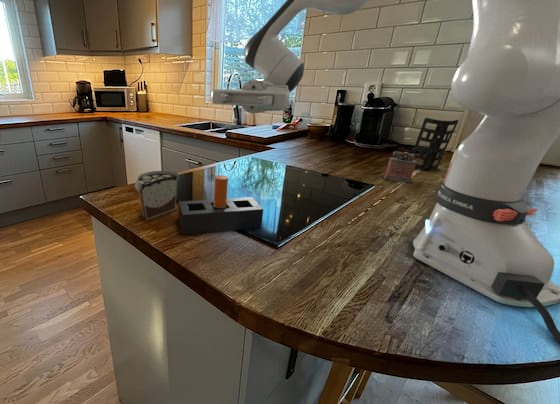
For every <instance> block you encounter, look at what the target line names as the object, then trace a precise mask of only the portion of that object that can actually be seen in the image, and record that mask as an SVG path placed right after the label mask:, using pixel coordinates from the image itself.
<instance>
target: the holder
mask: <svg viewBox="0 0 560 404" xmlns="http://www.w3.org/2000/svg"><path fill="white" fill-rule="evenodd" d="M458 123H459V119H454V120H441V119H434V118H430V117H425V118H424V119H423V122H422V125H421V127H420V130H419V133H418V136H417V137H416V138H417V139H416V141H415V144H414V147H413V149H412V152H411V154H414V158H413V159H419V160H422V162H421V163H420V162H417V163H416V164H415V167H414V168H416V169H421V171H428V172H429V171H431V170H436V169H439V165H440V163H441V161H442V159H443V156H444V154H445V151H446V149H447V147H448V145H449V144H450V140H452V139H451V138H452V136H453V134H454V132H455V130H456V127H457V125H458ZM427 124H432V125H435V128H434V129H431V128H426V127H427ZM449 126H453V127H452V129H451V130H448V128H449ZM424 133H426V135H425V137H423V134H424ZM431 134H432V136H431ZM430 137H431V138H430ZM421 141H422V142H424V143H429V144H428V146H427V147H425V146H421V145H420V143H421ZM443 144H445V145H444V147H442V148H441V146H442V145H443ZM417 150H419V154H416V153H417ZM424 153H425V155H424ZM436 161H437V163H436V164H434V163H435V162H436Z"/></svg>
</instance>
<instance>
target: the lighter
mask: <svg viewBox="0 0 560 404" xmlns="http://www.w3.org/2000/svg"><path fill="white" fill-rule="evenodd" d="M393 156H396V157H393ZM416 163H418V161H417V160H415V158H414V154H412V153H409V152H407V151H405V152H401V151H393V154H392V157H389V158H388V164H387V168H386V171H385V175H384V177H383V178H384V179H385V180H389V181H395V182H399V183H411V182H412V177H413V173H414V171H415V168H416V167H415V164H416Z"/></svg>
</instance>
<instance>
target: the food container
mask: <svg viewBox="0 0 560 404" xmlns="http://www.w3.org/2000/svg"><path fill="white" fill-rule="evenodd" d="M179 181H180V176H179V173H178V172H176V171H170V170H153V171H147V172H144V173H141V174H139V175H137V177H136V180H135V184H134V185H135V186H134V188H135V190H136V191H138V196H139V200H140V208H141V213H142V218H143V219H145V220H146V221H148V220H150V219H151V220H152V219H153V218H156V217H159V216H162V215H165V214H167V213H170V212H173V211H176V208H177V195H178V194H177V193H178V182H179Z"/></svg>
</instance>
